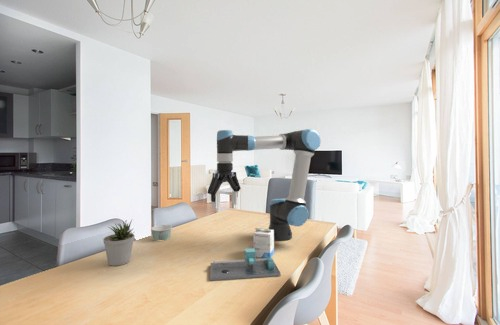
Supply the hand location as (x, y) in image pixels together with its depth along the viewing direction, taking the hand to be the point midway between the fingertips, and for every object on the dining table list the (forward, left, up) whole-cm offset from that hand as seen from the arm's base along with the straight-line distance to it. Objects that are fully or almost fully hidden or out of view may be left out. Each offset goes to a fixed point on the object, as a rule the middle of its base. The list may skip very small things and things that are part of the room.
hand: (225, 206), depth 120 cm
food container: (+36, -32, -25) cm, 54 cm away
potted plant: (+48, +1, -24) cm, 54 cm away
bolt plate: (-7, +17, -24) cm, 30 cm away
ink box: (-19, +1, -24) cm, 31 cm away
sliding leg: (-10, +16, -23) cm, 30 cm away
